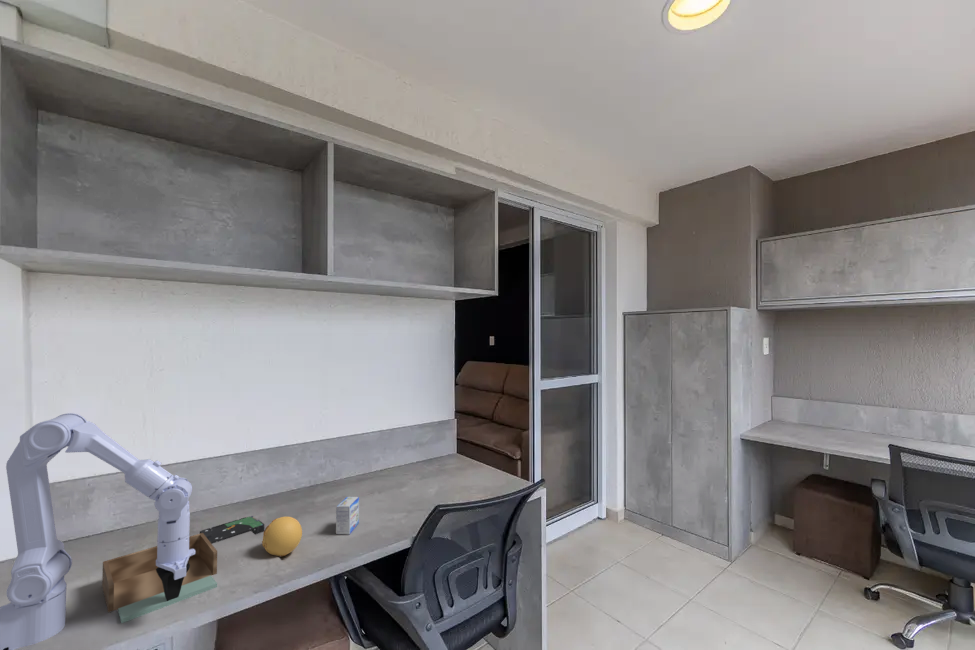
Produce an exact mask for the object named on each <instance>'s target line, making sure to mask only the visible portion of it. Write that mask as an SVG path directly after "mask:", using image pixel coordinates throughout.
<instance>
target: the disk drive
mask: <svg viewBox="0 0 975 650" xmlns="http://www.w3.org/2000/svg"><path fill="white" fill-rule="evenodd" d="M265 529H266V527H265V523H263V522H262V521H261V520H260V519H258V518H256V517H255V516H254V515H251V516H246V517H242V518H239V519H235V520H232V521H229V522H225V523H222V524H219V525H218V524H217V525H215V526H212V527H208V528H205V529H203V530H199V534H200V533H203V534H204V535H205V536H206V537H207V539H208V540H209V541H210V543H211V544H212V545H213V544H215V543H219V542H221V541H224V540H227V539H231V538H234V537H237V536H240V535H243V534H246V533H249V532H252V534H253V535H258V534H261V533H264V531H265Z"/></svg>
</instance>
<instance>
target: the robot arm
mask: <svg viewBox="0 0 975 650" xmlns="http://www.w3.org/2000/svg"><path fill="white" fill-rule="evenodd" d="M65 448H67V449H66V450H65V451H64V452H65V453H68V454H69V453H70V454H71V453H89V454H91V455H93V456H94V457H96V458H98V459H100V460H102V462H104V463H107V464H108V465H110V466H111V467H113V468H115V469H116V470H118V471H120V472H122V473H123V474H124V482H125V483H126V484H127V485H128V486H130V487H132V488H133V489H135V490H137V491H138V492H139V493H140V494H142V495H144V496H146V497H147V498H148V499H150V500H153V501H154V502H153V503H154V507H155V509H156V511H158V519H157V545H156V546H157V559H156V566H157V567H158V568H157V569H156V572H157V574H158V576H159V577H160V579H161V580H162V584H163V589H164V594H165V597H166V600H167V601H169V600H172V599H175V598H177V597H179V594H180V590H181V586H182V583H183V580H184V577H185V576H186V573H187V571H188V570H189V568H190V564H189V563H188V560H189V557H190V556H192V555H194V554H195V549H190V550H189V537H190V531H191V530H190V527H191V526H190V524H191V512H190V508H191V507H190V500H189V499H190V497H191V495H192V494H193V493H192V492H193V485H192V483H191V482H190V481H189V480H188V478H186V477H181V476H179V475H177V474H172V473H171V472H169V471H168V470H166V469H165V468H164V467H162V466H161V465H162V462H161V461H160V460H158V459H157V460H155V461H153V460H152V459H151V458H148V459H139V458H138V457H136V456H135V455H134V454H133V453H131V452H130V451H129V450H127V449H126V448H125V447H123V446H122V445H121V444H119V443H118V442H117V441H116V440H115V439H113V438H112V437H110V435H108V434H106V433H105V431H103V430H102V429H101V428H100V427H99V426H98V425H97V424H96V423H94V422H93V421H90V420H89V421H87V419H86V418H85V417H84V416H82V415H80V414H79V413H74V412H69V413H68V412H67V413H64V414H60V415H58V416H56V417H54V418H51V419H48V420H44V421H40V422H39V423H36V424H35V425H33V426H31V427H30V428H29V429H28V430H26V431H25V432H23V433H22V434H21V435H20V436H19V442H18V444H17V445H16V447H15V448H14V450H13V452H12V453H11V455H10V457H9V458H8V460H7V461H6V463H5V464H6V466H5V468H6V469H5V470H6V475H7V484H8V490H9V491H8V492H9V497H10V505H11V512H12V519H13V526H14V533H15V534H14V535H15V540H16V541H15V542H16V547H17V548H16V549H17V556H16V558H15V560H14V563H13V565H12V568H11V570H10V575H11V578H10V583H9V584H8V586H7V588H6V598H7V600H8V601H9V603H6V604H4V605H1V606H0V650H18V649H20V648H24V647H27V646H31V645H35V644H39V643H40V642H44V641H46V640H48V639H50V638H52V637H53V636H56V635H57V634H59V633H60V632H61V631H63V629H64V628H65V626H66V615H67V614H66V613H67V611H66V610H67V608H66V607H67V586H68V585H67V582H66V580H65V576H66V575H67V574H68V573H69V572H70V570H71V568H72V566H73V558H72V557H71V555H70V554H69V553H68V552H67V551H66V549H65V544H64V542H63V541H62V540H60V539H58V538H57V532H56V523H55V516H54V515H55V514H54V508H53V503H52V501H53V500H52V493H51V488H50V487H51V486H50V480H49V473H48V463H49V462H50V461H52V459H54V458H55V457H56V456H57V455H58V454H59V453H60V452H62V450H63V449H65Z"/></svg>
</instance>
